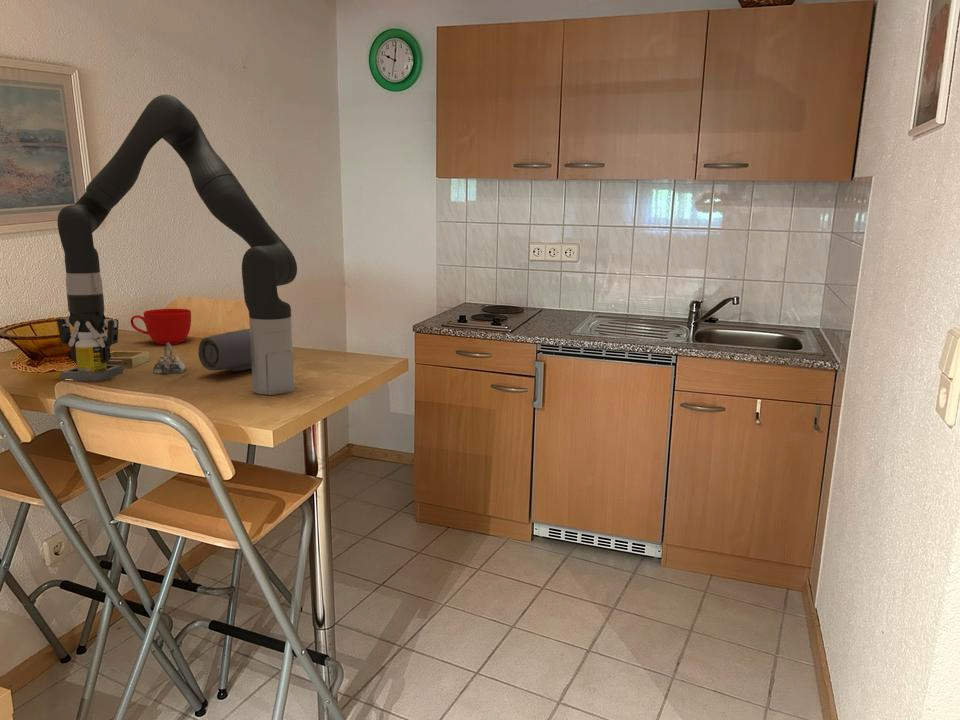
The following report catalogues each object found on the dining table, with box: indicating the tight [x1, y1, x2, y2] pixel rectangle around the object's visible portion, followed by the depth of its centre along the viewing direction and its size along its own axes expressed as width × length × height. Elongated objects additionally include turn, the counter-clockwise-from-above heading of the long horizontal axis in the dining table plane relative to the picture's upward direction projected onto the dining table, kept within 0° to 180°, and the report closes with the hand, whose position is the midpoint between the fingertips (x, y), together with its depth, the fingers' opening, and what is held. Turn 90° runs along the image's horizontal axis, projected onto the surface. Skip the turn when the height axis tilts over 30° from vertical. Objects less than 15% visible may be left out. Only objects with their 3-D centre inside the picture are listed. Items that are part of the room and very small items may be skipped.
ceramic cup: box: [129, 308, 192, 346], centre depth 214 cm, size 13×17×10 cm
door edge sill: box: [106, 360, 125, 371], centre depth 180 cm, size 9×1×2 cm, turn 90°
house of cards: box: [152, 342, 187, 375], centre depth 176 cm, size 9×9×8 cm
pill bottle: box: [75, 332, 107, 372], centre depth 171 cm, size 6×6×11 cm
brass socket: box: [110, 350, 150, 369], centre depth 187 cm, size 10×10×2 cm
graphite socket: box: [60, 365, 124, 383], centre depth 172 cm, size 10×10×2 cm
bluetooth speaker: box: [197, 328, 252, 373], centre depth 184 cm, size 23×9×10 cm, turn 148°
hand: (91, 361), depth 172 cm, fingers closed on pill bottle, 6 cm apart
